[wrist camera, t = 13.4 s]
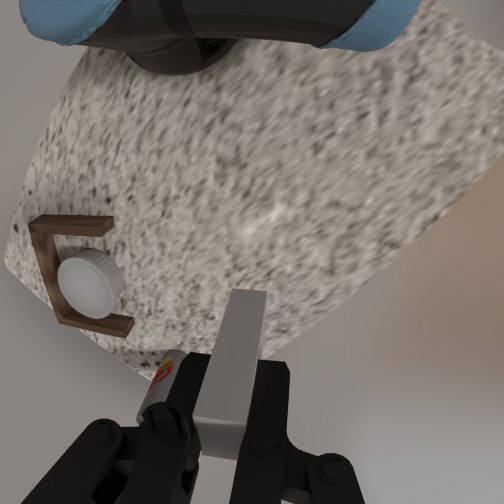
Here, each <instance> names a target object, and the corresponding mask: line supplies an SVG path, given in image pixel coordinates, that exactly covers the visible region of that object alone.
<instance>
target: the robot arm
mask: <svg viewBox="0 0 504 504" xmlns="http://www.w3.org/2000/svg"><path fill="white" fill-rule="evenodd" d="M420 2H421V0H19V6H20V14H21V18H22V20H23V22H24V23H25V24H26V25H27V28H28V31H29V32H30V33H31V34H33V35H34V36H36V37H37V38H40V39H43V40H48V41H53V42H56V43H58V44H59V45H67V46H71V45H84V46H91V47H99V48H105V49H112V50H118V51H124V52H126V54H127V55H128V56H129V57H130V58H131V60H132V61H134V62H135V63H136V64H137V65H139V66H140V67H142V68H144V69H146V70H149V71H152V72H155V73H160V74H167V75H184V74H190V73H193V72H197V71H199V70H202V69H204V68H206V67H208V66H210V65H212V64H213V63H215V62H216V61H218V60H219V59H220V58H222V57H223V56H224V55H225V54H226V53H227V52H228V51H229V50H230V49H231V47H232V46H233V45H234V43H235V42H236V40H237V38H246V39H264V40H276V41H287V42H296V43H304V44H311V45H312V46H313V47H315V48H319V49H324V48H327V49H328V48H339V49H346V50H352V51H358V52H369V51H375V50H378V49H382V48H384V47H386V46H387V45H389V44H390V43H392V42H393V41H394V40H395V39H396V38H397V37H398V36H399V35H400V34H401V33H402V32H403V31H404V29H405V28H406V27H407V25H408V24H409V22H410V21H411V19H412V18H413V16H414V14H415V12H416V11H417V9H418V7H419V5H420ZM266 305H267V291H256V290H244V289H232V292H231V295H230V298H229V301H228V304H227V307H226V311H225V314H224V317H223V320H222V323H221V326H220V329H219V333H218V336H217V339H216V342H215V345H214V348H213V351H212V355H210V354H202V353H196V352H190V353H189V354H188V355H187V356H186V357H185V358H184V359H183V360H182V361H181V364H180V366H179V369H178V371H177V374H176V376H175V379H174V382H173V384H172V386H171V389H170V391H169V394H168V396H167V399H166V401H165V402H157V403H153V404H151V405H150V406H148V407H147V408H145V410H144V411H143V413H142V417H143V419H144V421H145V423H146V425H145V426H138V427H120V425H119V424H117V423H116V422H115V421H113V420H110V419H98V420H95V421H93V422H92V423H91V424H89V425H88V426H87V428H86V429H85V430H84V431H83V432H82V433H81V434H80V436H79V437H78V438H77V439H76V440H75V441H74V442H73V444H72V445H71V446H70V447H69V448H68V449H67V450H66V452H65V453H64V454H63V455H62V456H61V457H60V459H59V460H58V461H57V462H56V463H55V464H54V466H53V467H52V468H51V469H50V470H49V471H48V472H47V474H46V475H45V476H44V477H43V478H42V479H41V481H40V482H39V483H38V484H37V485H36V486H35V488H34V489H33V490H32V491H31V492H30V493H29V495H28V496H27V497H26V498H25V499H24V500H23V502H22V503H21V504H190V501H191V497H192V493H193V490H194V486H195V482H196V478H197V474H198V470H199V463H198V458H199V455H200V451H201V452H202V455H206V456H212V457H218V458H224V459H232V460H238V461H237V466H236V471H235V476H234V481H233V486H232V492H231V497H230V502H229V504H281V499H282V500H285V501H288V502H290V503H294V504H365V502H364V499H363V496H362V493H361V490H360V487H359V484H358V481H357V478H356V475H355V472H354V469H353V466H352V465H351V463H350V461H349V460H348V459H347V458H345V457H344V456H342V455H339V454H335V453H326V454H323V455H320V456H316V455H313V454H310V453H306V452H303V451H302V450H299V449H297V448H296V447H295V446H294V445H293V444H292V443H291V442H290V441H289V439H288V436H287V416H288V401H289V385H290V371H289V369H288V367H287V365H286V363H285V362H282V361H270V360H261V359H262V352H263V346H264V339H265V322H266Z"/></svg>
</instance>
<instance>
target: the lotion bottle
mask: <svg viewBox="0 0 504 504" xmlns="http://www.w3.org/2000/svg"><path fill="white" fill-rule="evenodd" d="M186 356H187V354H185V353H184V352H181V351H177V350H171V351H168V352H167V353H166V354H165V355H164V357H163V359H162V361H161V364H160V366H159V368H158V370H157V372H156V374H155V377H154V379H153V381H152V383H151V385H150V388H149V390H148V392H147V394H146V397H145V399H144V401H143V403H142V406H141V408H140V410H139V412H138V415H137V417H136V420H137V423H138V424H139V426H145V425H146V423H145V421H144V419H143V417H142V413H143V411H144V410H145V408H147V407H148V406H150V405H151V404H153V403H157V402H165V401H166V399H167V396H168V394H169V391H170V389H171V386H172V384H173V382H174V379H175V376H176V374H177V371H178V369H179V366H180V364H181V361H182V360H183V359H184V358H185V357H186Z"/></svg>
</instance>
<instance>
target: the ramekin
mask: <svg viewBox="0 0 504 504" xmlns="http://www.w3.org/2000/svg"><path fill="white" fill-rule="evenodd" d="M58 284H59V287H60V290H61V292H62V294H63V296H64V297H65V299H66V300H67V301H68V303H69V304H70V305H71V306H72V307H73V308H74V309H75V310H77V311H78V312H80V313H81V314H83V315H85V316H87V317H90V318H94V319H99V318H104V317H106V316H108V315H109V314H110V313H111V312H112V311H113V310H114V308H115V305H116V301H117V299H118V297H119V295H120V293H121V291H122V285H123V283H122V276H121V273H120V270H119V268H118V266H117V265H116V263H115V262H114V261H113V260H112V259H111V258H110V257H109V256H108V255H106V254H105V253H103V252H101V251H98V250H95V249H87V250H83V251H81V252H79V253H77V254H75V255H74V256H70V257H68V258H66V259H65V260H64V261H63V262H62V263H61V265H60V266H59V269H58Z"/></svg>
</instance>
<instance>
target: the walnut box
mask: <svg viewBox="0 0 504 504" xmlns="http://www.w3.org/2000/svg"><path fill="white" fill-rule="evenodd" d="M114 226H115V225H114V219H113V216H86V215H41V216H39V217H38V218H36V219H35V220H33V221H31V222H30V223H28V227H29V231H30V235H31V239H32V243H33V247H34V250H35V254H36V257H37V261H38V264H39V267H40V271H41V274H42V277H43V280H44V283H45V286H46V289H47V292H48V295H49V298H50V301H51V303H52V306H53V309H54V312H55V314H56V316H57V319H58V322H59V323H61V324H65V325H69V326H73V327H77V328H81V329H85V330H89V331H93V332H97V333H102V334H106V335H111V336H116V337H120V338H125V339H126V337H127V336H128V334H129V332H130V331H131V329H132V328H133V326H134V324H135V323H134V319H133V317H129V316H123V315H117V314H112V313H110V314H109V315H108V316H106V317H104V318H99V319H94V318H90V317H87V316H85V315H83V314H81V313H80V312H78V311H77V310H75V309H74V308H73V307H72V306H71V305H70V304H69V303H68V301H67V300H66V299H65V297H64V296H63V294H62V292H61V290H60V287H59V284H58V269H59V266H60V262H59V258H58V254H57V250H56V246H55V242H54V238H53V234H61V235H75V236H90V237H102V236H103V235H104V234H105V233H107V232H108V231H109V230H110V229H111V228H113V227H114Z"/></svg>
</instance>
